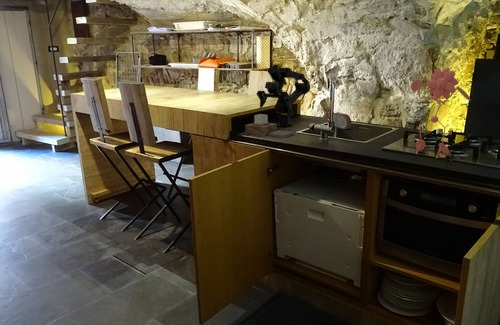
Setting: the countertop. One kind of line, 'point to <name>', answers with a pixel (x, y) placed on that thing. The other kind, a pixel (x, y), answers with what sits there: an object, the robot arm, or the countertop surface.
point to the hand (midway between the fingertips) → (267, 108)
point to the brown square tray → (260, 129)
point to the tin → (342, 120)
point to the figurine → (439, 86)
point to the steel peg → (261, 120)
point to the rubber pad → (281, 133)
